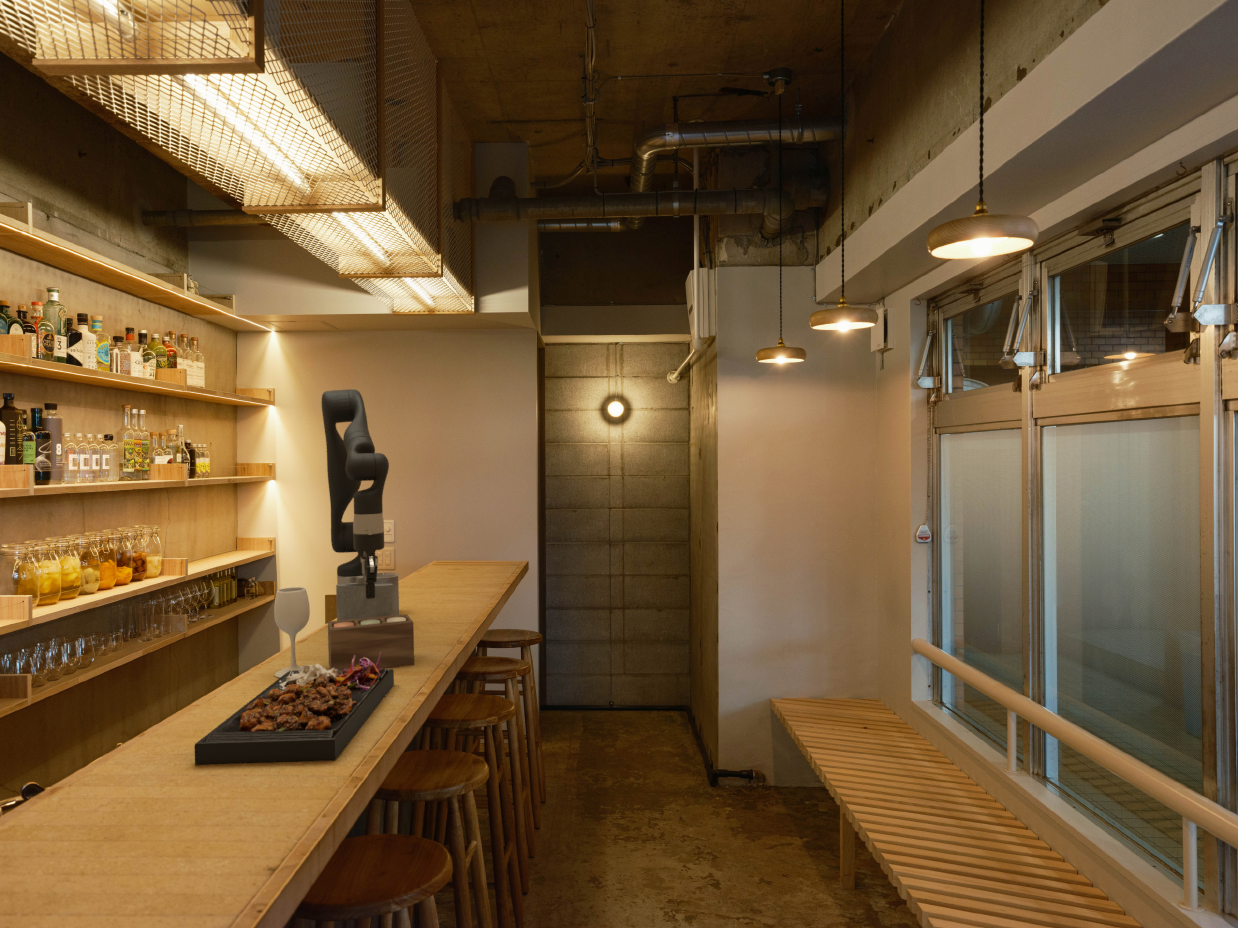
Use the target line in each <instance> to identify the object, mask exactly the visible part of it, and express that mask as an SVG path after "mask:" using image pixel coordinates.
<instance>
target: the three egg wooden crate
mask: <svg viewBox="0 0 1238 928" xmlns="http://www.w3.org/2000/svg"><path fill="white" fill-rule="evenodd" d="M393 617H404V618H406V621H399V622H389V623H387V619H389V618H393ZM365 620H380V623H378V624H368V625H361V621H365ZM341 622H352V623H354V626H348V627H338V628H334V624H336V623H341ZM414 628H415V627H414V621H413V619H412V618H410V616H409V614H407V613H406V614H405V613H404V614H399V615H392V616H382V617H371V618H361V619H350V620H340V621H337V620H332V621H327V640H328V641H327V642H328V643H327V644H328V648H327V649H328V666H329V667H328V668H329V670H331V669H333V668H334V669H349V668H350V664H351V667H352V663H351V661H352V659H353V658H354V655H355V661H354V667H355V666H357V665H359V664H360V662H359V661H360V659H362V658H363V657H365V658H368V659H369V660H370V661H371V662H372V663H373V664H377V662H378V658H379V655H380V652H381V655H380V659H379V669H380V668H385V669H394V668H400V666H402V667H410V666H415V640H414V639H415V636H414V634H415V633H414V631H415V630H414ZM409 665H410V666H409Z"/></svg>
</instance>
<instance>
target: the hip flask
mask: <svg viewBox="0 0 1238 928" xmlns="http://www.w3.org/2000/svg"><path fill="white" fill-rule="evenodd" d="M357 580H358V582H357V583H348V584H338V585H337V584H336V585H335V591H336V593H335V594H336V621H340V620H350V619H361V618H371V617H382V616H392V615H394V613H393V584H375V598H372V599H367V598H366V593H365V582H364V578H363V576H358V577H357Z"/></svg>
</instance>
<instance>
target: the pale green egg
mask: <svg viewBox="0 0 1238 928" xmlns="http://www.w3.org/2000/svg"><path fill="white" fill-rule="evenodd" d="M378 623H380V620H365V621H361V625H368V624H378Z"/></svg>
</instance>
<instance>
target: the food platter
mask: <svg viewBox="0 0 1238 928" xmlns="http://www.w3.org/2000/svg"><path fill="white" fill-rule="evenodd" d="M380 655H381V652H380ZM380 655H379V658H378V662H377V664H373V663H372V662H371V661H370V660H369V659H368V658H365V657H363V658H362V659H360V661H359V662H360V664H359V665H357V666H355V667H354V661H355V655H354V658H353V659H352V661H351V663H352V667H351V664H350V668H349V669H334V668H333V669H331V670H330V669H326V668H325V667H323V665H320V663H315V665H314V664H304V665H303V666H302V667H303V670H291V671H289V672H287V673H286V674H284V675H283V676H282V677H280V678H278V679H277V680H275V681H274V682H273V683H271V684H270V685H269V686H267V687H266V688H265V689H263V690H262V691H261V692H260V693H259V694H257V695H256V696H255V697H254V698H252V699H250V701H248V702H247V703H246V704H244V705H243V706H242V707H240V708H239V709H238V710H237V711H236V712H234V713H232V715H230V716H229V717H227V718H226V719H225V720H224V721H222V723H220V724H218V725H217V726H216V727H215V728H213V729H212V730H211V731H210V732H208V733H207V734H206V735H205V736H203V737H202V738H201V739H200V740H198V741H196V743H194V746H193V747H194V765H195V766H205V765H206V766H209V765H212V766H213V765H214V766H215V765H216V766H217V765H238V764H240V765H241V764H242V765H243V764H270V763H271V764H272V763H273V764H274V763H277V764H278V763H302V762H303V763H306V762H308V763H309V762H332V761H333V762H334V761H335V762H336V761H337V759H338V758H339V757H340V756H341V755H342V753H343V752H344V751H345V749H346V748H347V747H348V746H349V744H350V743H351V741H352V740H353V739H354V737H355V736H356V734H358V732H359V731H360V730H361V728H362V727H363V726H362V725H364V724H365V723H366V722H367V720H368V719H369V718H371V716H372V714H373V713H374V712H375V711H376V709H377V708H378V706H379V705H380V704H381V703H382V701H383V700H384V699H385V697H386V696H387V695H388V693H389V692H390V691H391V690H392V688H393V687H394V686H395V676H394V675H395V671H394V668H380V669H379V659H380ZM393 685H394V686H393ZM390 689H391V690H390ZM386 694H387V695H386ZM385 695H386V696H385ZM383 698H384V699H383ZM373 711H374V712H373Z"/></svg>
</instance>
